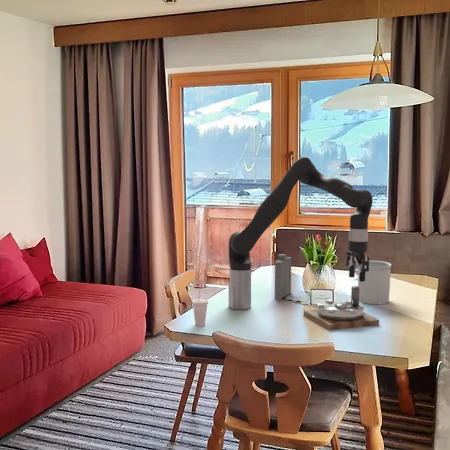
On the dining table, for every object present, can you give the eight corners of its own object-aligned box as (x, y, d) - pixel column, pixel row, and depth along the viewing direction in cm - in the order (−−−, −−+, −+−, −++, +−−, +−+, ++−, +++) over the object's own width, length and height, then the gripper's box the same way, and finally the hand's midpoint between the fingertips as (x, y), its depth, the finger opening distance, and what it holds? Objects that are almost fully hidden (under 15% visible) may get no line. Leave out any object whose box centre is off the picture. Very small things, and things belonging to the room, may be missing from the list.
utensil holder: (388, 306, 256) (389, 267, 254) (354, 303, 261) (355, 265, 259) (391, 298, 269) (393, 261, 267) (359, 295, 275) (360, 259, 273)
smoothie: (199, 321, 232) (199, 287, 230) (211, 324, 228) (211, 289, 226) (188, 325, 227) (188, 290, 225) (200, 328, 223) (200, 292, 221)
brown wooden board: (329, 330, 221) (329, 324, 220) (303, 315, 241) (303, 310, 241) (379, 324, 227) (379, 319, 227) (350, 310, 248) (350, 305, 248)
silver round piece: (309, 310, 239) (309, 285, 238) (345, 306, 246) (346, 282, 245) (334, 322, 222) (335, 295, 221) (372, 317, 229) (373, 291, 228)
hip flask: (280, 300, 267) (280, 257, 265) (271, 299, 269) (272, 256, 266) (291, 292, 281) (292, 252, 279) (283, 291, 283) (284, 251, 281)
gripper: (375, 241, 226) (374, 282, 228) (357, 237, 240) (356, 275, 242) (358, 242, 224) (357, 283, 226) (341, 237, 238) (340, 276, 240)
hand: (356, 279), depth 234 cm, fingers open, 8 cm apart
